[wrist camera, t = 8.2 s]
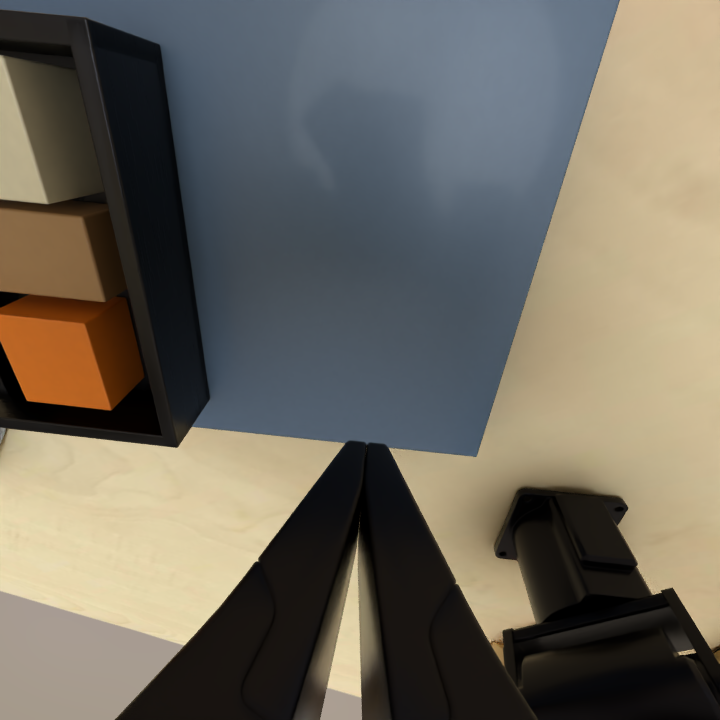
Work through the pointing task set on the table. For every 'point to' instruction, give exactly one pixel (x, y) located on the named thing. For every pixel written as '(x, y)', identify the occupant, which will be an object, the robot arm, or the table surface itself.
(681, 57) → the table surface
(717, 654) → the decorative box
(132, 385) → the black open tray
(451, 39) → the blue flat slab
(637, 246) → the table surface
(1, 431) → the ceramic mug
